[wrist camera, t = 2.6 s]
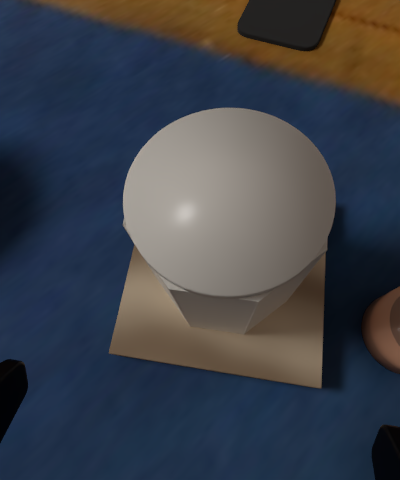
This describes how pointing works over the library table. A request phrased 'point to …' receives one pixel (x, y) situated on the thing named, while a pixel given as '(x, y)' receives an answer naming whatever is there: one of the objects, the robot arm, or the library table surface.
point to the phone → (286, 22)
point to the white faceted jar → (229, 214)
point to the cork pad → (220, 342)
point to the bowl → (383, 330)
